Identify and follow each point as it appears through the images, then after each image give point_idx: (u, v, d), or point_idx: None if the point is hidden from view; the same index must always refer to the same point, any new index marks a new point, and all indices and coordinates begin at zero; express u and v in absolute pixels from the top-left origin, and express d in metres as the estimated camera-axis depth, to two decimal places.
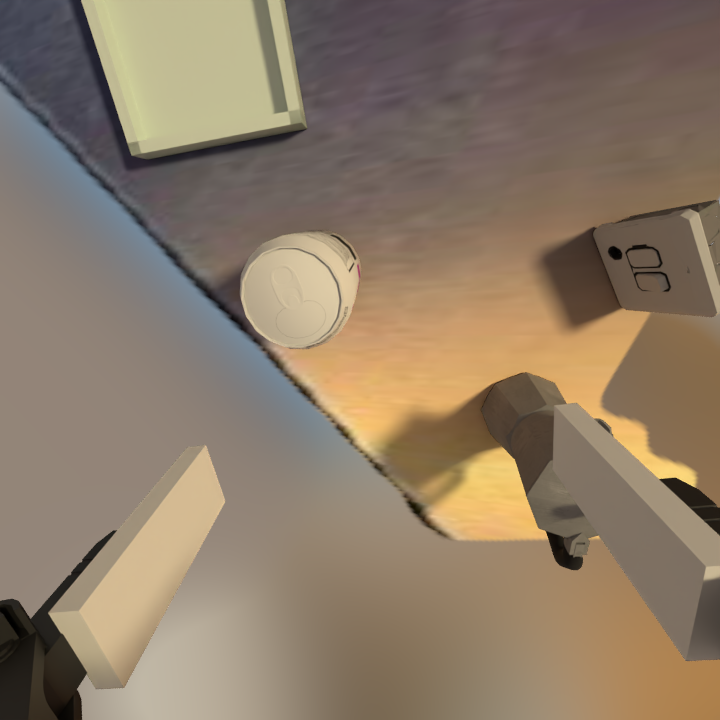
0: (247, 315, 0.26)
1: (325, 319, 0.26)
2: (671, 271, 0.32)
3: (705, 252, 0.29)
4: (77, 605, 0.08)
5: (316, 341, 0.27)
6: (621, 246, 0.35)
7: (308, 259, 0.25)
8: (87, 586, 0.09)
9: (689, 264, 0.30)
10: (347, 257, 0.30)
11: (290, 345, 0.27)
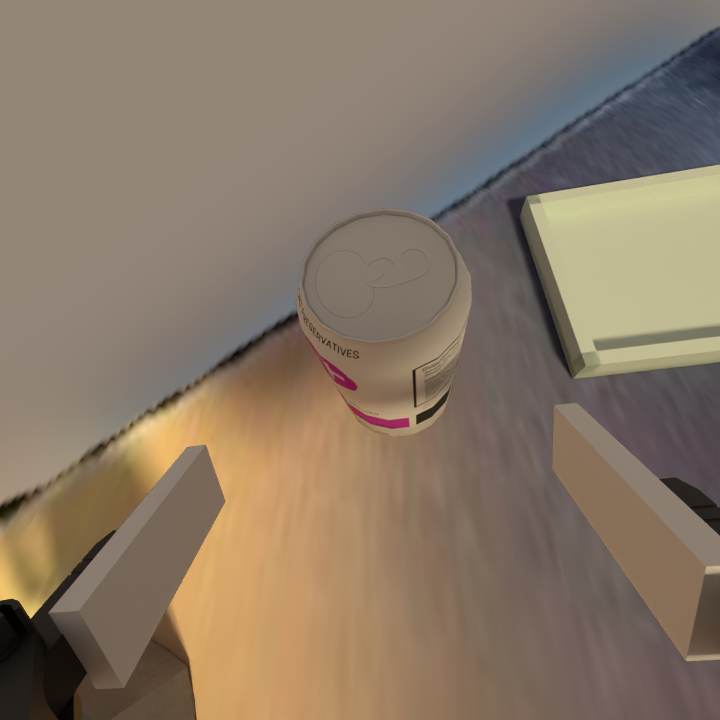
0: (357, 216, 0.18)
1: (341, 317, 0.16)
2: None
3: None
4: (77, 605, 0.08)
5: (306, 303, 0.16)
6: None
7: (439, 295, 0.15)
8: (87, 586, 0.09)
9: None
10: (427, 388, 0.20)
11: (305, 267, 0.17)
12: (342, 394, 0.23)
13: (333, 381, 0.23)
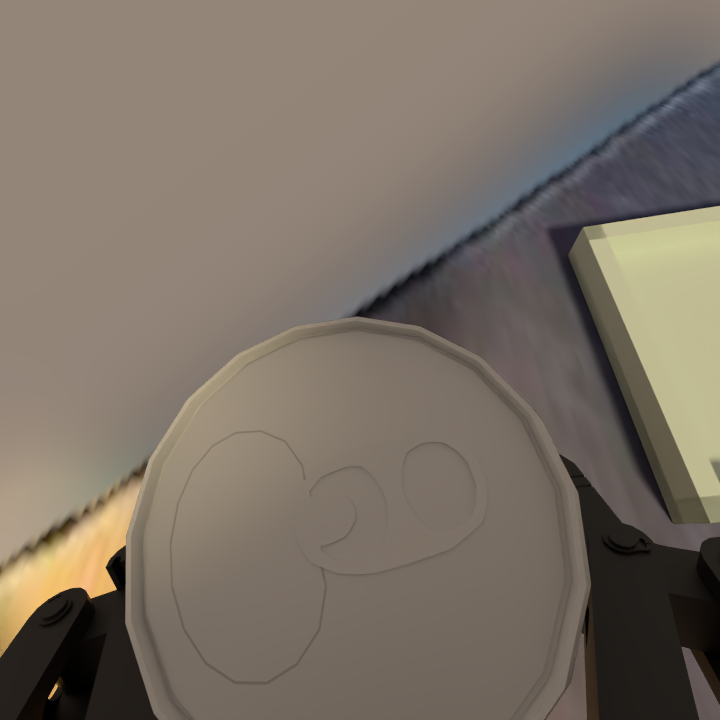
0: (295, 332, 0.07)
1: (225, 678, 0.05)
2: None
3: None
4: None
5: (137, 607, 0.06)
6: None
7: (522, 630, 0.05)
8: None
9: None
10: None
11: (155, 478, 0.07)
12: None
13: None
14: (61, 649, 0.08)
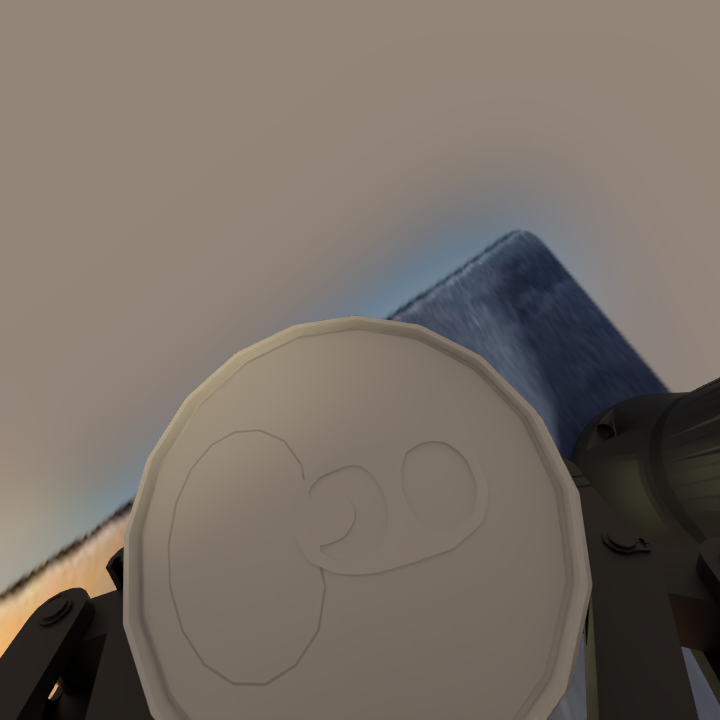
0: (295, 331, 0.07)
1: (223, 679, 0.05)
2: None
3: None
4: None
5: (135, 607, 0.06)
6: None
7: (523, 630, 0.05)
8: None
9: None
10: None
11: (153, 477, 0.07)
12: None
13: None
14: (61, 649, 0.08)
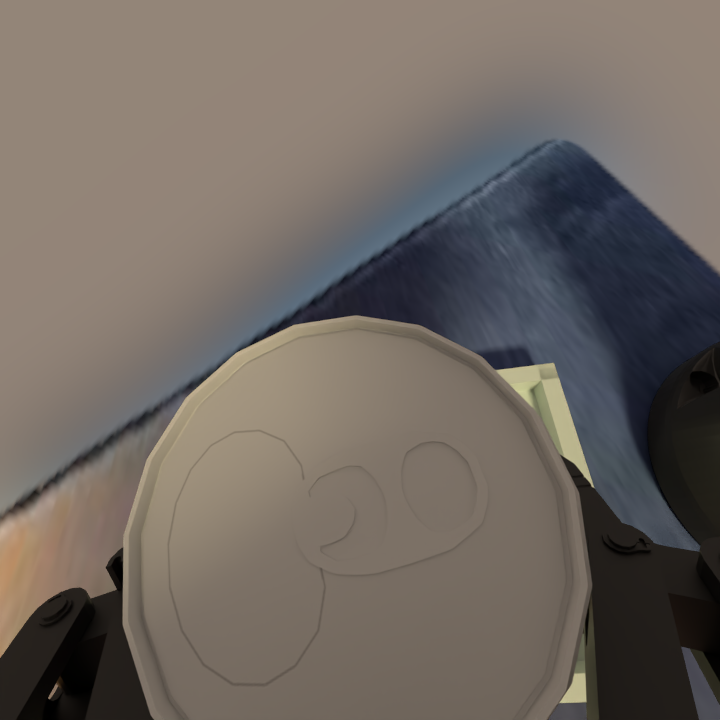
0: (295, 331, 0.07)
1: (223, 679, 0.05)
2: None
3: None
4: None
5: (134, 608, 0.06)
6: None
7: (523, 631, 0.05)
8: None
9: None
10: None
11: (153, 478, 0.07)
12: None
13: None
14: (61, 649, 0.08)
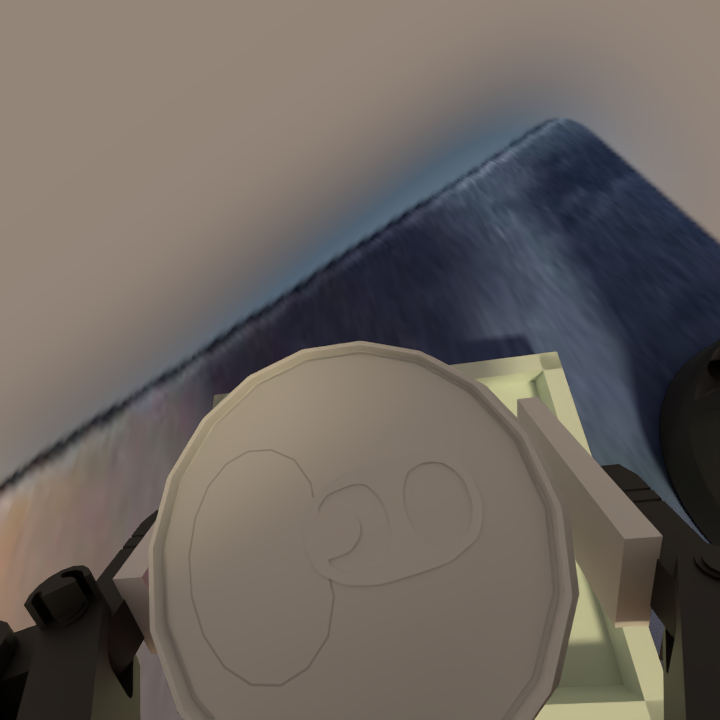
0: (303, 355, 0.08)
1: (242, 680, 0.06)
2: None
3: None
4: (139, 572, 0.09)
5: (160, 615, 0.06)
6: None
7: (513, 637, 0.05)
8: (145, 556, 0.09)
9: None
10: None
11: (173, 494, 0.07)
12: None
13: None
14: None
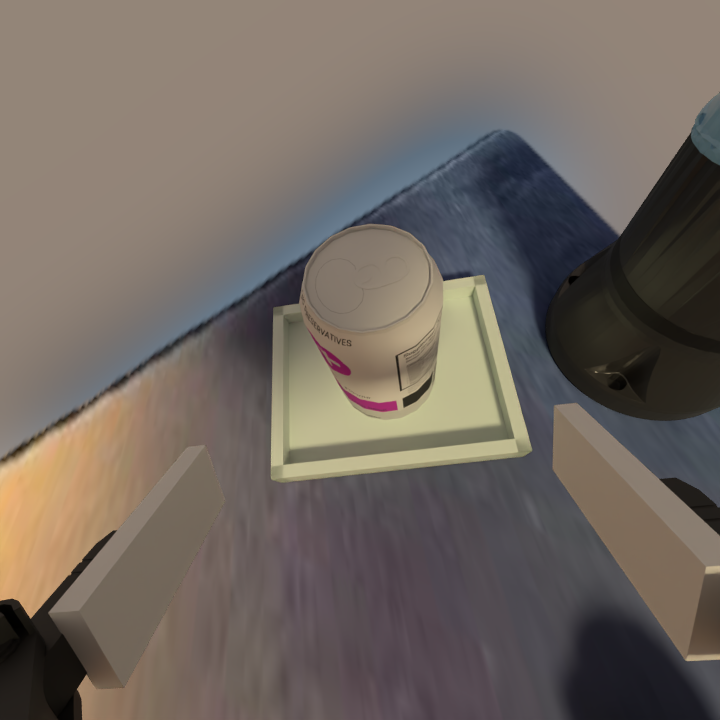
0: (349, 230, 0.21)
1: (336, 313, 0.19)
2: None
3: None
4: (77, 605, 0.08)
5: (308, 301, 0.20)
6: None
7: (416, 295, 0.19)
8: (87, 586, 0.09)
9: None
10: (410, 373, 0.23)
11: (307, 273, 0.21)
12: (338, 381, 0.27)
13: (331, 370, 0.27)
14: None
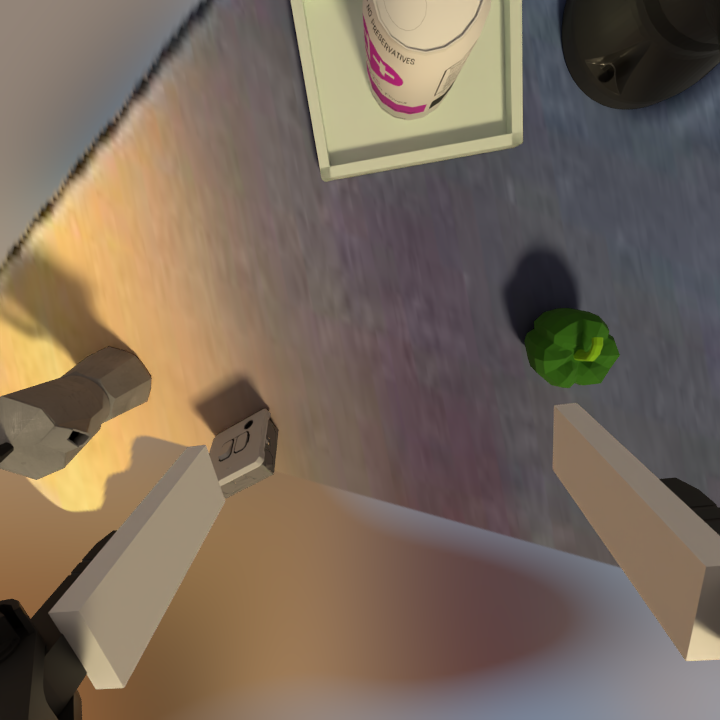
0: None
1: (404, 30, 0.23)
2: (229, 459, 0.46)
3: (237, 475, 0.44)
4: (77, 605, 0.08)
5: (378, 16, 0.23)
6: (251, 427, 0.49)
7: (471, 8, 0.23)
8: (87, 586, 0.09)
9: (231, 468, 0.45)
10: (447, 81, 0.29)
11: None
12: (379, 87, 0.31)
13: (373, 75, 0.31)
14: None
